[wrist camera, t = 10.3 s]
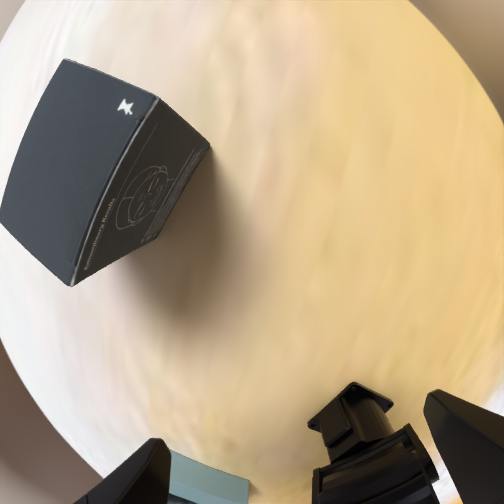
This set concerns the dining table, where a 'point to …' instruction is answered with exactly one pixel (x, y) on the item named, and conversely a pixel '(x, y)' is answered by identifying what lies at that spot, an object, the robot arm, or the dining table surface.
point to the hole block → (205, 483)
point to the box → (96, 171)
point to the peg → (177, 500)
